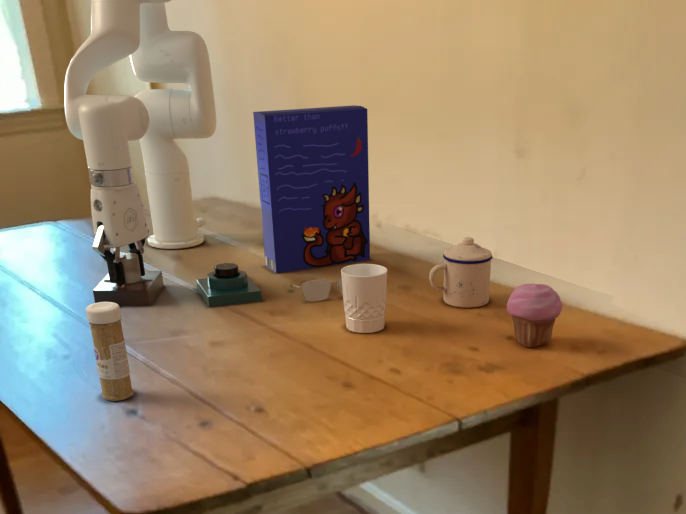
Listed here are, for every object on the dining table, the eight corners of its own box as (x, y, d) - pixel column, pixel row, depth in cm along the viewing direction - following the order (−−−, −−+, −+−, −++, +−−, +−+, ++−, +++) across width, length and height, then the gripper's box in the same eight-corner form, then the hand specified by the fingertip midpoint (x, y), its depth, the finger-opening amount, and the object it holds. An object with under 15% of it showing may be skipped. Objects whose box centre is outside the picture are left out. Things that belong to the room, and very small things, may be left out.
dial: (118, 276, 173) (114, 251, 171) (144, 276, 174) (140, 250, 171) (111, 283, 169) (107, 258, 167) (138, 283, 169) (134, 257, 167)
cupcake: (523, 355, 146) (528, 294, 141) (495, 339, 153) (498, 280, 148) (568, 347, 150) (574, 287, 145) (538, 331, 156) (543, 273, 151)
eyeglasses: (300, 303, 169) (298, 281, 167) (289, 294, 176) (287, 273, 174) (370, 295, 174) (369, 273, 172) (356, 286, 180) (355, 266, 179)
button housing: (197, 289, 177) (194, 268, 175) (247, 284, 180) (245, 263, 178) (209, 307, 167) (206, 285, 165) (262, 301, 170) (260, 280, 168)
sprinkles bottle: (96, 396, 132) (78, 306, 125) (122, 387, 135) (106, 298, 128) (114, 404, 129) (97, 313, 122) (140, 395, 132) (125, 305, 125)
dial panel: (113, 286, 178) (110, 270, 177) (163, 285, 179) (161, 269, 177) (95, 306, 167) (92, 289, 166) (149, 306, 168) (147, 289, 166)
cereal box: (357, 253, 199) (354, 104, 183) (370, 259, 195) (367, 107, 179) (265, 266, 190) (253, 110, 174) (276, 273, 186) (264, 114, 170)
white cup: (394, 322, 160) (393, 265, 155) (378, 337, 154) (377, 278, 148) (352, 317, 162) (351, 261, 157) (335, 331, 156) (333, 273, 151)
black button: (213, 274, 173) (212, 264, 172) (236, 272, 174) (235, 262, 173) (217, 280, 169) (216, 270, 168) (241, 278, 171) (240, 268, 169)
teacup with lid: (478, 292, 176) (481, 230, 169) (497, 305, 168) (501, 242, 162) (420, 298, 172) (421, 235, 166) (437, 312, 165) (439, 247, 159)
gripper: (96, 188, 154) (114, 293, 163) (158, 171, 167) (171, 269, 177) (62, 184, 156) (81, 288, 166) (125, 168, 169) (140, 265, 179)
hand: (127, 278), depth 171 cm, fingers closed on dial, 5 cm apart
